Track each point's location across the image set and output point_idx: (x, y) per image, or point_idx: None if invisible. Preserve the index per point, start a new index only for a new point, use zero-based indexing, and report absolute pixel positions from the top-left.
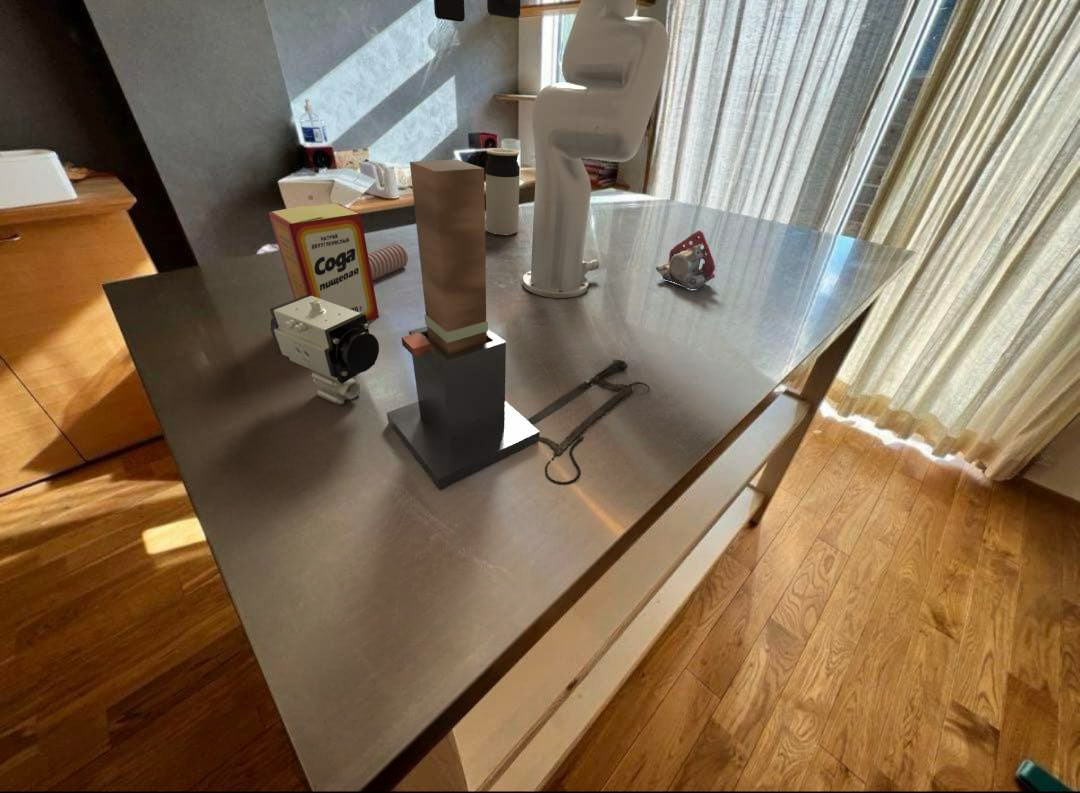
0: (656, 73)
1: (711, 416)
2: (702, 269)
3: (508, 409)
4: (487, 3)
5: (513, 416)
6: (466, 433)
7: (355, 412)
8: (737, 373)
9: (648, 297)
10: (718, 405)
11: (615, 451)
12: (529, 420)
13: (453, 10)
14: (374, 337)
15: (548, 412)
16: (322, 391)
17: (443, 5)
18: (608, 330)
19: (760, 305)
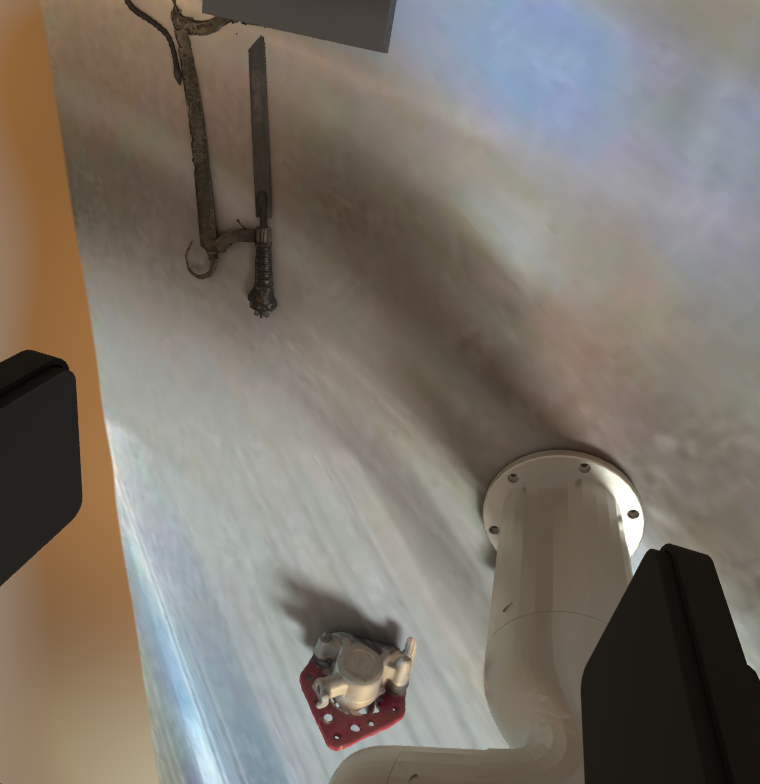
0: None
1: (105, 274)
2: (324, 674)
3: (275, 18)
4: (36, 370)
5: (257, 9)
6: None
7: None
8: (144, 407)
9: (380, 566)
10: (115, 307)
11: (132, 93)
12: (261, 50)
13: (610, 653)
14: None
15: (255, 94)
16: None
17: (646, 616)
18: (355, 405)
19: (232, 634)
